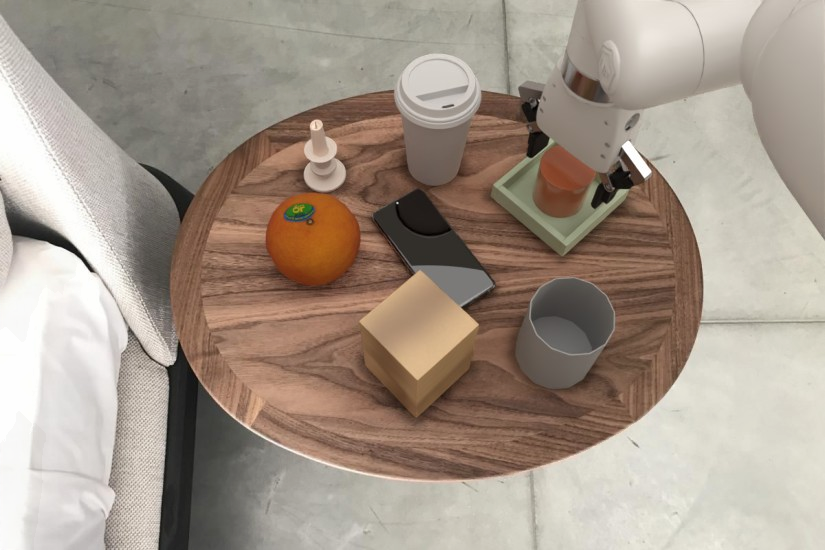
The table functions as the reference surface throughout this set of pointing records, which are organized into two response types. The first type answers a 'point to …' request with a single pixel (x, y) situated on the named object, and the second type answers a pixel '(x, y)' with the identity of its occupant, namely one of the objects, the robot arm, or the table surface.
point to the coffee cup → (436, 115)
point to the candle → (322, 161)
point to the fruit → (313, 238)
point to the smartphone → (433, 247)
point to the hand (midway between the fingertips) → (568, 175)
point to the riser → (418, 342)
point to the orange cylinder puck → (561, 183)
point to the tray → (553, 231)
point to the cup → (564, 332)
